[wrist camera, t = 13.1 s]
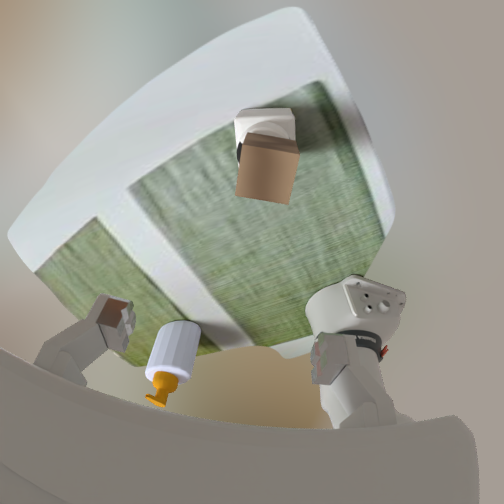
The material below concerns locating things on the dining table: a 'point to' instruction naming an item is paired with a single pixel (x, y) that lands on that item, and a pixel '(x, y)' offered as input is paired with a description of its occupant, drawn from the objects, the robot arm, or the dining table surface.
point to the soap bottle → (172, 358)
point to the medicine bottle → (264, 124)
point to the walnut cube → (267, 168)
